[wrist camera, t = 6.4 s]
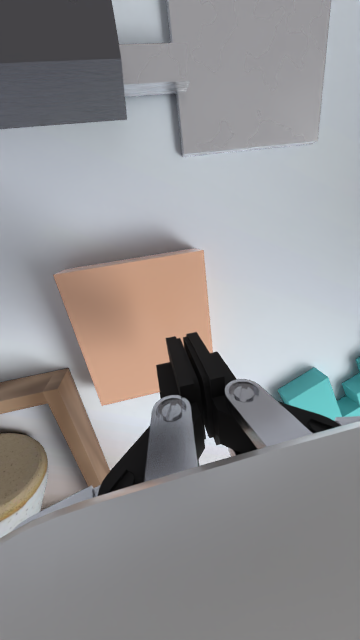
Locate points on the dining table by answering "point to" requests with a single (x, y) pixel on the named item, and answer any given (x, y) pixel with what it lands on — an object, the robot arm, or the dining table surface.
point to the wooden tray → (60, 416)
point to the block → (135, 317)
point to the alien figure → (323, 394)
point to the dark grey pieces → (171, 69)
